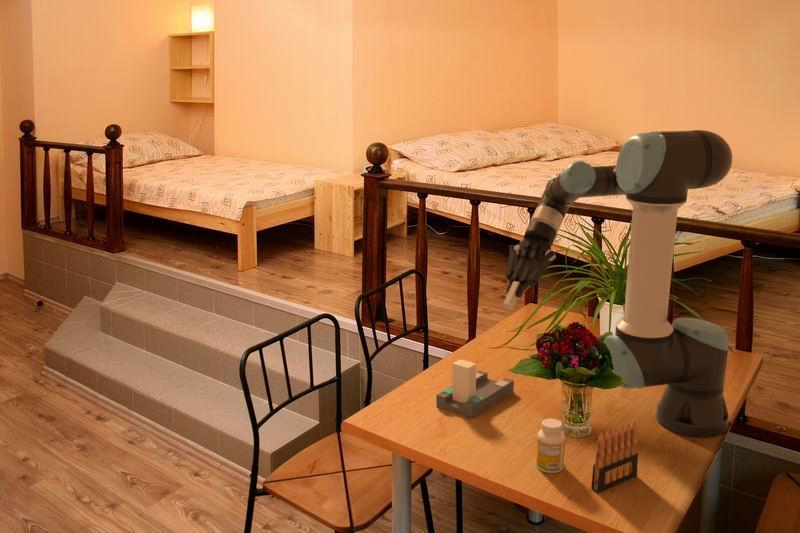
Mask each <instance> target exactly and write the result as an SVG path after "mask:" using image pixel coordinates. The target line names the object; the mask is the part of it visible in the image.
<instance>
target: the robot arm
mask: <svg viewBox="0 0 800 533" xmlns="http://www.w3.org/2000/svg"><path fill="white" fill-rule="evenodd" d="M732 163H733V154H732V149H731V147H730V145H729V143H728V142H727V141H726V139H725V138H724V137H722V136H721V135H719V134H717V133H715V132H712V131H709V130H703V129H696V130H695V129H694V130H669V131H667V130H666V131H663V130H662V131H653V130H652V131H649V132H641V133H635V134H634V135H632V136H631V137H629V138H628V139H627V140H626V142H624V143H623V145H622V146H621V149H620V151H619V153H618V156H617V160H616V164H615V165H614V164H613V165H596V166H595V165H594V166H592V165H591V164H589V163H587V162H585V161H583V160H578V161H574V162H571V164H569V165H568V166H567V167H565V168H564V169H563V170H562V171H561V172H558V173H554V174H552V176H551V177H550V178H549V181H548V182H547V183H546V185H545V188H544V191H543V194H542V195H541V198H540V200H539V202H538V204H537V207H536V208H535V210H534V213H533V215H532V217H531V219H530V220H529V221H530V222H529V223H528V225H527V228H526V230H525V232H524V235H523V239H521V241H520V242H519V243H518V244H516V245H513V244H510V245H509V246H508V249H509V257H508V262H507V266H506V270H505V275H504V276H505V278H506V280H507V281H508V282H509V283H508V286H507V288H506V291H505V293H506V297H505V299H504V301H503V305H504V306H505V308H506V309H507V310H511V311H513V310H514V308H515V305H516V303H517V300H518V299H519V298H521V297H522V296H523V294H524V292H525V290H526V288H527V287H535V285H536V284H537V283H538V281H539V280H540V278H541V277H542V276H543V275H544V273H545V272H546V270H547V269H548V268H549V266H550V265H551V264H552V263H553V262H555V261H556V260H557V255H556V254H555V253H554V251H553V250H552V246H553V244H554V243H555V240H556V237H557V234H558V232H559V230H560V228H561V226H562V224H563V221H564V220H565V218H566V214H567V212H568V210H569V208H570V206H572V205H573V204H574V203H575V202H576V201H578V200H579V199H580V198H581V199H582V198H593V197H595V198H596V197H604V196H605V197H609V196H610V197H611V196H625V199H626V201H628V203H629V204H630V205H631V206H632V216H631V218H632V219H631V231H630V239H629V240H630V241H629V253H628V265H627V277H626V279H627V280H626V288H625V301H624V314H623V316H622V317H621V318H619V319H618V320H617V321H616V323H615V334H613V333H612V334H610V335H607V336H606V337H605V339H604V341H603V343H605V344H606V346H607V348H608V349H609V351H610V354H611V357H612V358H611V359H612V364H613V368H614V369H613V370H612V372H613V373H614V374H616V375H618V376H620V377H621V378H622V379H623V380H622V382H624V381H625V382H626V383H625V384H623V385H620V386H619V387H620V388H622V389H625V390H626V389H629V390H630V389H643V388H649V387H657V386H663V385H664V386H665V385H666V387H665V389H664V391H663V393H662V396H661V398H660V400H659V402H658V403H657V405H656V406H657V407H656V414H655V418H656V420H657V422H658V423H659V424H660V425H661V426H663V427H664V428H666V429H667V430H670V431H672V432H675V433H677V434H680V435H685V436H688V437H689V436H691V437H696V438H698V437H700V438H705V437H706V438H707V437H708V438H709V437H717V436H719V435H722V434H724V433H725V432H727V430H728V428H729V423H730V422H729V420H730V417H729V416H730V415H729V411H728V408H727V403H726V400H725V395H724V388H725V378H726V369H727V368H726V367H727V360H728V353H729V350H730V348H729V333H728V331H727V330H726V329H725V328H723V327H722V326H720V325H718V324H716V323H713V322H711V321H707V320H704V319H703V320H702V319H700V318H693V317H692V318H691V317H678V318H675V319H674V320H673V321H672V323H670V322H669V321H668V310H669V300H670V290H671V282H672V281H671V280H672V269H673V260H674V250H675V242H676V241H675V239H676V231H677V230H676V229H677V218H678V210H679V209H680V208H681V207H682V206H684V205H686V203H687V201H688V192H689V190H696V189H704V188H709V187H712V186H714V185H717V184H718V183H720V182H721V181H723V180H724V179H725V178H726V177H727V175H728V174H729V173H730V170H731V168H732V165H733V164H732ZM519 254H520V255H519ZM518 255H519V257H520V258H519V259H518Z"/></svg>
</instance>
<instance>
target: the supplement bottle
mask: <svg viewBox="0 0 800 533" xmlns="http://www.w3.org/2000/svg"><path fill="white" fill-rule="evenodd" d="M565 446H566V435H565V433H564V432H563V422H562V421H561V420H560V419H555V418H546V419H543V420H542V421H541V429H540V430H539V431H538V433H537V442H536V467H537V468H538V470H540V472H541V471H542V472H544V473H548V474H556V473H557V474H558V473H560V472H562V471H563V469H564V466H565V448H566V447H565Z"/></svg>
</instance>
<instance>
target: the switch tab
mask: <svg viewBox="0 0 800 533" xmlns="http://www.w3.org/2000/svg"><path fill="white" fill-rule="evenodd" d="M476 372H477V363H475V362H472V361H468V360H465V359H458V360H456V361H455V362H453V363H452V385H451V386H452V400H454V401H457V402H460V403H465V402H467V401H468V400H469V399H470V398H472V397H474V396H475V395H476Z"/></svg>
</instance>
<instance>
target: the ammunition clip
mask: <svg viewBox="0 0 800 533" xmlns="http://www.w3.org/2000/svg"><path fill="white" fill-rule="evenodd" d="M637 433H638V428H637V422H636V420H633V421H632V423H631V426H630V423H629V422H627V423H626V425H625V428H624V426H623V424H621V425H620V426H619V429H617V427H616V426H615V427H614V428H613V429H612V433H611V431H610V429H607V431H606V433H605V436H604V433H603V432H600V434H599V436H598V441H597V446H596V448H597V449H596V453H595V463H593V464H592V465H593V467H592V476H591V485H590V487H591V490H593V491H594V492H596V493H598V494H600V493H603V492H604V491H605V492H606V491H607V490H609V489H611V488H614V487H617V486H618V485H621V484H623V483H625V481H626V482H628V481H631V480H632V478H633V479H635V478H637V477H638V465H639V463H638V462H639V459H638V458H639V453H637V451H638V450H637V448H638V434H637Z"/></svg>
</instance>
